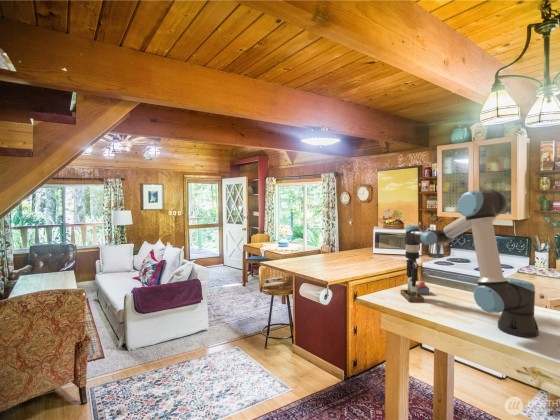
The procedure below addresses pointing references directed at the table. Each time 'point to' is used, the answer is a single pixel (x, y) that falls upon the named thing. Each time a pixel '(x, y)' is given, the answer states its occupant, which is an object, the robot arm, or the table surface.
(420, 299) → the wooden tray
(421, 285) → the coral capsule
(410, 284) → the cell
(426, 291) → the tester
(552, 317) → the table surface
